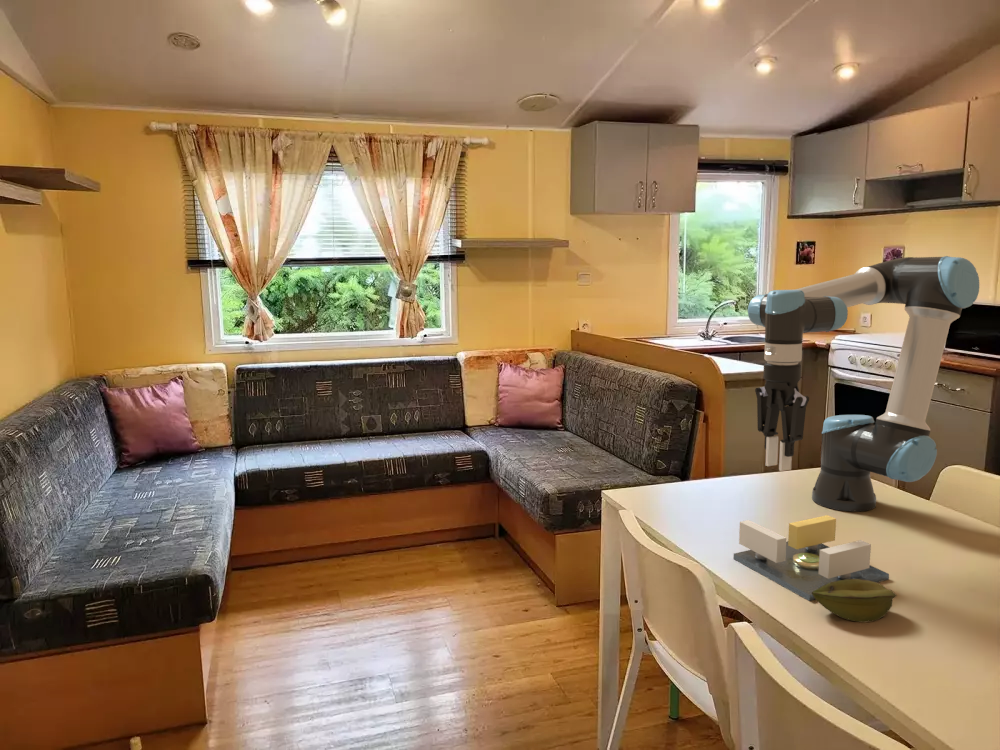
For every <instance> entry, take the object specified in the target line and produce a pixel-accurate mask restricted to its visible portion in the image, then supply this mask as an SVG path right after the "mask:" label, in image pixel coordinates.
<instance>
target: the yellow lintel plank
mask: <svg viewBox="0 0 1000 750" xmlns="http://www.w3.org/2000/svg"><path fill="white" fill-rule="evenodd" d="M836 527H837V518H835V517H833V516H830V515H828V514H827V515H826V514H825V515H822V516H817V517H812V518H808V519H803V520H798V521H793V522H790V523H788V538H787V539H788V540H787V541H788V546H790V547H793V548H795V549H801V548H806V549H808V550H817V547H818V544H825V543H830V542H835V541H836V530H837V529H836Z"/></svg>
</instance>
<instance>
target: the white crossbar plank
mask: <svg viewBox="0 0 1000 750" xmlns="http://www.w3.org/2000/svg"><path fill="white" fill-rule="evenodd" d="M738 532H739V538H738V544H739V545H741V546H743V547H745V548H747V549H748V550H752V551H754V552H756V553H755V557H756V558H757V559H761V560H765V559H767V558H768V559H770V560H772V561H774V562H775V563H778V562H783V561H785V559H786V542H787V537H785V536H783V535H781V534H779V533H777V532H775V531H773V530H771V529H769V528H767V527H764V526H762V525H760V524H758V523H756V522H754V521H752V520H749V519H747V520H743V521H739V531H738Z"/></svg>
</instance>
